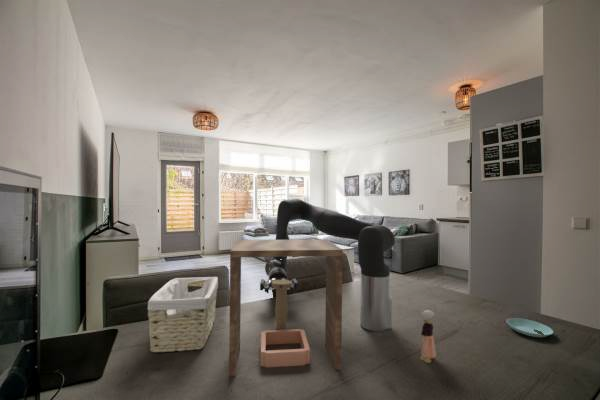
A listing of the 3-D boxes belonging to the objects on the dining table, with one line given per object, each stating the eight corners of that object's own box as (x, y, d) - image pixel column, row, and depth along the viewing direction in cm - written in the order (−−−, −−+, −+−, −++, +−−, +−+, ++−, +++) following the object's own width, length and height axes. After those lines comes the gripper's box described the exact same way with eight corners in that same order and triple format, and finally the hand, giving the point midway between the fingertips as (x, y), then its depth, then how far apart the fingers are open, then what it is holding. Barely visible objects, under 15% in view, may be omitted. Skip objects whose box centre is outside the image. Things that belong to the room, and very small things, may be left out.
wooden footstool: (326, 335, 88) (327, 239, 88) (341, 369, 71) (342, 249, 70) (236, 339, 85) (237, 240, 85) (229, 376, 67) (230, 250, 67)
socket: (303, 340, 85) (303, 328, 85) (310, 364, 72) (310, 350, 72) (261, 342, 83) (261, 330, 83) (260, 367, 71) (260, 353, 71)
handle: (290, 331, 90) (291, 284, 90) (270, 331, 90) (270, 284, 90) (291, 325, 95) (291, 280, 95) (272, 324, 95) (272, 279, 95)
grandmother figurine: (433, 366, 72) (434, 316, 72) (417, 362, 74) (418, 313, 74) (437, 353, 79) (438, 307, 79) (422, 349, 81) (423, 304, 81)
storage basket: (170, 319, 99) (171, 276, 99) (219, 317, 101) (219, 275, 101) (144, 357, 75) (144, 301, 75) (208, 352, 78) (208, 298, 78)
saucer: (553, 332, 92) (553, 325, 92) (552, 345, 84) (552, 338, 84) (508, 321, 101) (508, 315, 100) (503, 332, 92) (503, 325, 92)
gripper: (260, 269, 119) (259, 280, 103) (294, 268, 121) (299, 279, 105) (260, 287, 119) (259, 301, 103) (294, 286, 121) (298, 300, 105)
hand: (279, 290), depth 104 cm, fingers open, 8 cm apart
